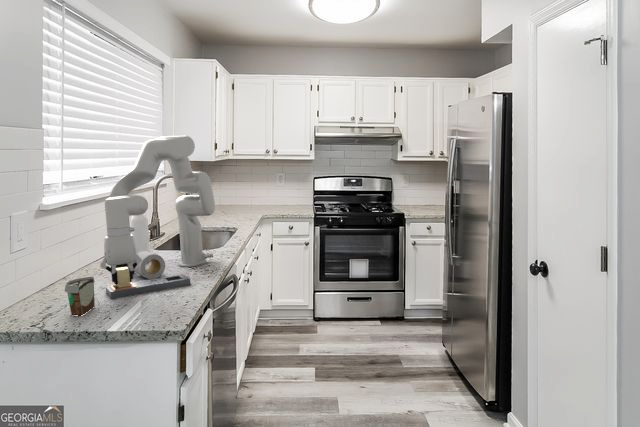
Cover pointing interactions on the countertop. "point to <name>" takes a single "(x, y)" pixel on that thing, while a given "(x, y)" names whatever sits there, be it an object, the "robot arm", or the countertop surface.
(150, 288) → the rail
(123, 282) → the tan wooden block
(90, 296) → the food container
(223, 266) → the countertop surface
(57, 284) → the countertop surface
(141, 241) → the bottle
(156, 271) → the toilet paper
